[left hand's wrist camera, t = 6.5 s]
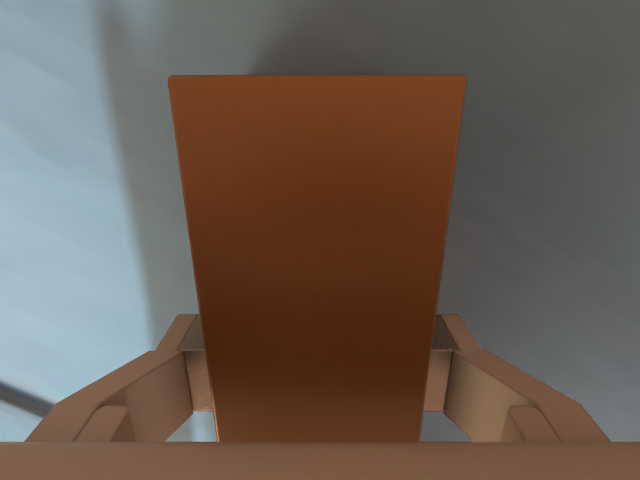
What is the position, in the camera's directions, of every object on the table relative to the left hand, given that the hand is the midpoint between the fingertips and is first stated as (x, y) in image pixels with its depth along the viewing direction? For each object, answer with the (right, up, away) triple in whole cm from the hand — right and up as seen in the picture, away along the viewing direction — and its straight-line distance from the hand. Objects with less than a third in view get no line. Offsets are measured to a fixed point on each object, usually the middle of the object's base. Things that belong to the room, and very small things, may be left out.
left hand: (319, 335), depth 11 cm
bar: (0, -27, +14) cm, 30 cm away
